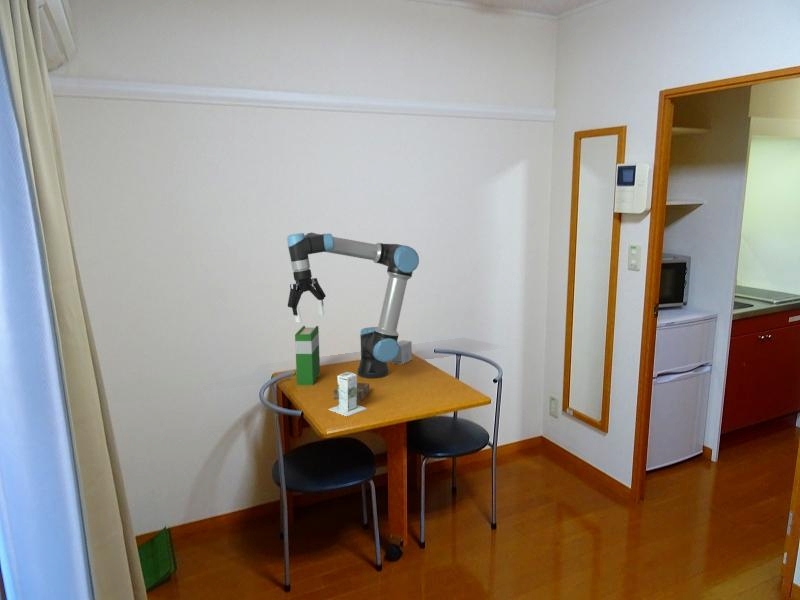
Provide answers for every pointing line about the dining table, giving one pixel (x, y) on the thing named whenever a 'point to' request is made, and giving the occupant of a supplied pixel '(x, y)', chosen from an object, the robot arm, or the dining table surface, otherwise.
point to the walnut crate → (361, 391)
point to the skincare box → (403, 352)
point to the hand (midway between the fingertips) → (310, 318)
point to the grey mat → (348, 413)
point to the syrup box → (347, 391)
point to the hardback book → (307, 355)
